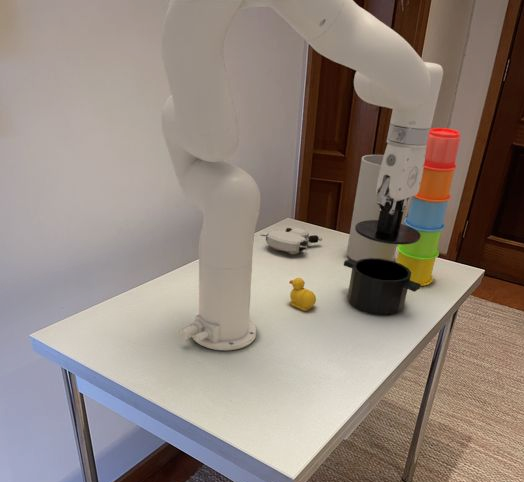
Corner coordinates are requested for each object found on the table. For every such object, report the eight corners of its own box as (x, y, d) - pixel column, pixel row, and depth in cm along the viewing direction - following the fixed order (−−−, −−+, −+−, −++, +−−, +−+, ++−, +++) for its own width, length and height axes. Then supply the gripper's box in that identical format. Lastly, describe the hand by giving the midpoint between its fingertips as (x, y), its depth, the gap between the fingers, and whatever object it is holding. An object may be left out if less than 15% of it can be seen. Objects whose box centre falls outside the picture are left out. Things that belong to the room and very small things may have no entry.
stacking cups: (441, 283, 129) (481, 133, 111) (407, 289, 125) (443, 134, 107) (414, 267, 137) (448, 124, 119) (382, 271, 133) (412, 125, 115)
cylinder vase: (402, 259, 141) (424, 163, 128) (375, 271, 133) (395, 169, 120) (364, 245, 148) (381, 152, 135) (336, 255, 140) (351, 158, 127)
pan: (396, 326, 109) (404, 291, 105) (326, 297, 119) (331, 264, 115) (424, 307, 118) (432, 274, 113) (356, 281, 127) (362, 250, 123)
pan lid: (399, 252, 102) (406, 224, 99) (342, 233, 109) (346, 206, 106) (430, 238, 111) (437, 211, 108) (375, 220, 118) (380, 195, 115)
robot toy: (285, 238, 152) (257, 249, 140) (287, 222, 149) (259, 232, 138) (323, 248, 146) (297, 261, 135) (326, 232, 144) (300, 243, 133)
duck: (318, 308, 114) (321, 282, 111) (307, 313, 112) (310, 288, 108) (294, 297, 118) (296, 272, 114) (283, 302, 115) (285, 277, 112)
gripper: (405, 143, 92) (383, 244, 102) (444, 136, 103) (422, 227, 113) (368, 135, 96) (351, 233, 106) (410, 129, 107) (391, 218, 117)
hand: (388, 229), depth 109 cm, fingers closed on pan lid, 2 cm apart
